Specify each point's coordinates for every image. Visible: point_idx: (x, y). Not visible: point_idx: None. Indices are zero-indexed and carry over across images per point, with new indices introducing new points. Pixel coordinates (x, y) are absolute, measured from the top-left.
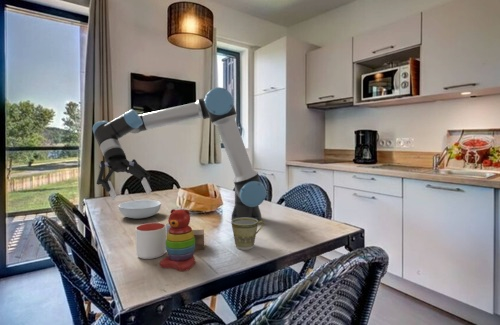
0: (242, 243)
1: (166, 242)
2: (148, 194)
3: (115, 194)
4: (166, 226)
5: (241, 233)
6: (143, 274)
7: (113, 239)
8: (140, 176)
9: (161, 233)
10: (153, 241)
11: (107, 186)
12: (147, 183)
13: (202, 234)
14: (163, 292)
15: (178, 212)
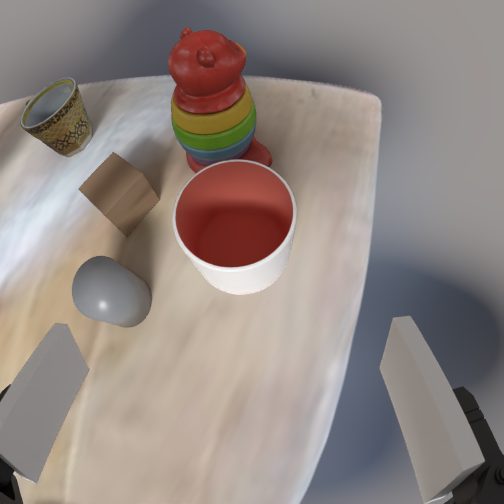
0: (87, 119)
1: (252, 117)
2: (82, 365)
3: (402, 324)
4: (124, 297)
5: (81, 100)
6: (319, 158)
7: (264, 485)
8: (1, 499)
9: (223, 171)
10: (256, 183)
11: (472, 415)
12: (20, 380)
13: (115, 153)
14: (317, 89)
15: (215, 32)
